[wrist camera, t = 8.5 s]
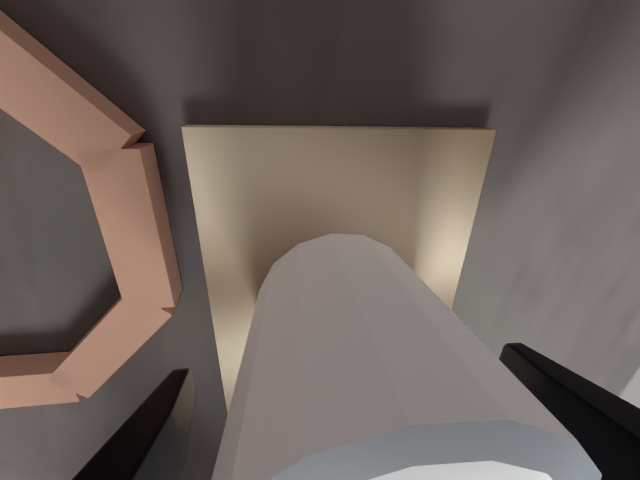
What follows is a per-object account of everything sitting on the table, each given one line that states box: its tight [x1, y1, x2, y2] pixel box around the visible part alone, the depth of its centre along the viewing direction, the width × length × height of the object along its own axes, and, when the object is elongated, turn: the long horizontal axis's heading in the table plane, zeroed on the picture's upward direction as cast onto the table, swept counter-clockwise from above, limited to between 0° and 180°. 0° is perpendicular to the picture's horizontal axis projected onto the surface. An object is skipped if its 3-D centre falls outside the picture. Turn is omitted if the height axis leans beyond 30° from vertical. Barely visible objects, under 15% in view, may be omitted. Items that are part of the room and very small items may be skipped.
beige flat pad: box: [181, 125, 497, 414], centre depth 12 cm, size 12×9×1 cm
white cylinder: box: [211, 233, 602, 480], centre depth 8 cm, size 7×7×7 cm
